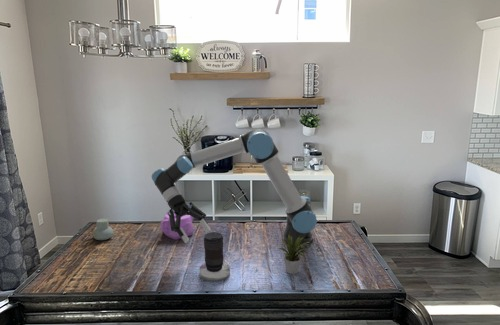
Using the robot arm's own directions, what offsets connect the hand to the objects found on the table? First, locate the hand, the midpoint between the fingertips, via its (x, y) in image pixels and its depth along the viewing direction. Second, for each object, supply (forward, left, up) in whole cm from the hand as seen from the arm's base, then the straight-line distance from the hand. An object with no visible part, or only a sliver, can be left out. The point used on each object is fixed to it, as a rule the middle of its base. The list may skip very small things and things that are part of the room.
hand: (198, 236), depth 169 cm
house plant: (-42, +2, -13) cm, 44 cm away
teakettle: (+20, -33, -14) cm, 41 cm away
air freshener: (+58, -22, -13) cm, 63 cm away
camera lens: (-9, +9, -10) cm, 16 cm away
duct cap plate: (-9, +8, -13) cm, 18 cm away
